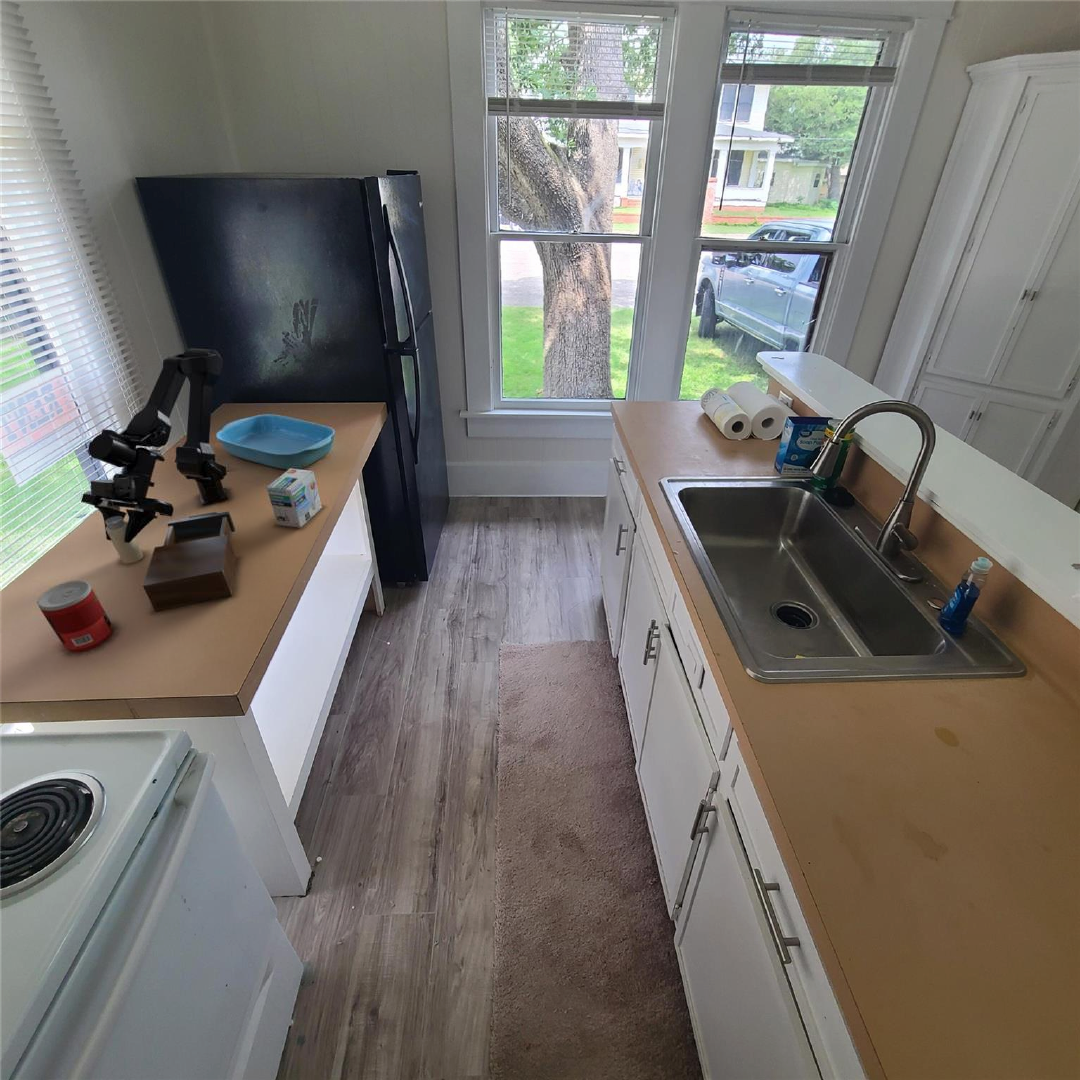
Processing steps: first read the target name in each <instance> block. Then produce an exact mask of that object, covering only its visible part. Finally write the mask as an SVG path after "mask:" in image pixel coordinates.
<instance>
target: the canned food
mask: <svg viewBox="0 0 1080 1080" xmlns="http://www.w3.org/2000/svg"><path fill="white" fill-rule="evenodd" d="M36 604H37V606H38V609H39V610H40V611H41V613H42V615H43V616H44V618H45V619H46V621H47V622H48V624H49V625H50V627H51V628H52V630H53V631H54V633H55V635H56V636H57V638H58V639H59V641H60V642H61V644H62V645H63V647H64V648H65V649H66V650H68V651H70V652H75V653H76V652H84V651H89V650H92V649H94V648H96V647H98V646H100V645H102V644H103V643H105V642H106V641H107V640H108V639H109V638H110V637H111V636H112V634H113V633H114V627H113V626H114V625H113V624H112V622H111V620H110V618H109V615H107V613H106V611H105V609H104V607H103V605H102V604H101V602H100V600H99V597H98V596H97V594H96V593H95V591H94V589H93V587H92V586H91V584H90V583H89V582H87V581H84V580H72V581H66V582H64V583H60V584H58V585H55V586H52V587H51V588H49V589H47V590H46V591H44V592H43V593H42V594H41V595H40V596H39V597H38V599H37V601H36Z"/></svg>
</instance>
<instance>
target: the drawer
mask: <svg viewBox="0 0 1080 1080" xmlns="http://www.w3.org/2000/svg"><path fill="white" fill-rule="evenodd" d="M166 525H167V527H168V529H167V532H166V536H165V539H164V542H163V545H162V546H165V545H171V544H176V543H182V542H188V541H194V540H199V539H205V538H211V537H216V536H222V535H228V538H229V541H230V544H231V545H232V537H233V533H234V532H236V526H235V524H234V521H233V518H232V515H231V512H230V511H223V512H217V511H214V512H208V513H202V514H195V515H189V516H188V517H186V518H181V519H174V520H169V521H167V523H166Z"/></svg>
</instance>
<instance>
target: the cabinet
mask: <svg viewBox="0 0 1080 1080" xmlns="http://www.w3.org/2000/svg"><path fill="white" fill-rule="evenodd" d="M236 561H237V557H236V554H235V552H234V549H233V547H232V543H231V544H230V541H229V538H228V535H222V536H216V537H211V538H205V539H199V540H194V541H188V542H182V543H176V544H171V545H165V546H163V545H160V546H155V547H154V548H153V552H152V555H151V559H150V562H149V565H148V568H147V571H146V574H145V577H144V579H143V580H144V581H143V584H142V588H143V590H144V592H145V594H146V596H147V598H148V601H149V602H150V604H151V606H152V608H153V610H154V612H155V613H157V612H161V611H166V610H172V609H176V608H181V607H187V606H192V605H196V604H201V603H205V602H210V601H215V600H221V599H226V598H230V597H233V590H234V581H235V572H236V565H237V563H236Z"/></svg>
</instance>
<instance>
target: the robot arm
mask: <svg viewBox="0 0 1080 1080" xmlns="http://www.w3.org/2000/svg"><path fill="white" fill-rule="evenodd" d="M223 363H224V362H223V358H222V357H221V356H220V353H219V352H218V351H216V350H214V349H205V348H194V347H193V348H192V347H191V348H188V349H186V350H185V351H184V352H182V353H178V354H174V355H172V356H168V357H166V358H164V359H163V360H162V368H161V371H160V373H159V375H158V378H157V380H156V382H155V384H154V387H153V389H152V390H151V394H150V396H149V398H148V400H147V402H146V405H145V406H144V407H143V408H142V409H141V410H139V411H138V412H136V413H135V414H134V415H133V417H132V418H131V420H130V421H129V422H128V424H127V427H126V428H124V429H123V430H122V431H120V432H119V433H118V432H117V431H116V430H115V431H114V430H112V429H107V428H102V430H101V433H99V434H97V435H95V437H94V438H93V439H92V440H91V441H90V442H89V444H88V449H87V451H88V454H89V456H90V457H91V458H92V459H95V460H97V461H99V462H103V463H105V464H109V465H111V466H114V467H116V468H121V471H120V473H117V472H115V474H114V475H113V476H112V479H93V480H90V490H87V491H86V492H84V493H82V496H81V500H80V503H83V504H87V505H91V506H93V507H94V508H95V509H97V510H98V511H99V512H100V513H101V515H102V518H103V522H104V523H103V524H104V530H105V539H106V540H107V541H112V540H111V538H110V537H109V535H108V533H107V531H106V527H107V525H106V523H105V521H106V520H107V519H109V518H111V517H114V516H121V517H122V518H123V520H124V521H125V518H126V515H127V516H128V520H127V522H128V524H127V529H126V533H125V540H124V542H127V543H130V542H131V541H132V540H133V539H134V538H136V537H137V536H138V535H139V534H140V533H141V532H142V530H143V529H144V528H145V527H146V526H148V525H149V524H150V523H151V522H152V521H153V520H155V519H156V520H157V519H158V515H156V514H157V513H158V514H159V516H162V517H163V516H164V517H170V518H172V517H173V514H174V510H175V509H174V507H173V504H172V503H171V502H167V501H164V500H161V499H158V498H151V497H147V495H148V492H149V488H154V487H155V482H153V481H152V477H153V475H154V474H153V473H154V471H155V467H156V463H157V462H165V460H166V459H165V458H164V456H163V455H162V453H161V450H159V449H153V448H161V447H165V446H166V445H167V443H168V442H169V438H170V435H171V432H172V423H171V420H170V418H171V414H172V411H173V410H174V407H175V404H176V402H177V400H178V398H179V395H180V394H181V391H182V388H183V386H184V384H185V381H186V379H187V381H188V382H189V391H188V393H189V394H188V407H187V408H188V411H187V426H186V439H185V442H184V443H183V445H181V446H179V445H178V446H176V447H175V458H174V463H176V470H177V471H178V472H179V473H180V474H181V475H182V476H184V478H185V479H186V480H193V481H195V483H196V486H197V489H198V491H199V500H200V504H201V505H202V506H206V505H210V504H216V503H219V502H224V501H228V500H229V499H230V498H229V494H228V490H227V488H226V487H224V485H223V482H222V480H224V479H225V476H227V467H226V466H225V465H223V464H221V463H218V462H216V454H215V451H214V450H213V448H212V446H211V444H210V435H211V434H210V433H211V421H212V420H211V419H212V405H213V402H212V401H213V388H214V387H215V385H216V383H217V382H218V381H219V380H220V378H221V375H222V370H223ZM148 448H150V449H148ZM151 448H152V449H151ZM121 508H125V511H122V510H121Z"/></svg>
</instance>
